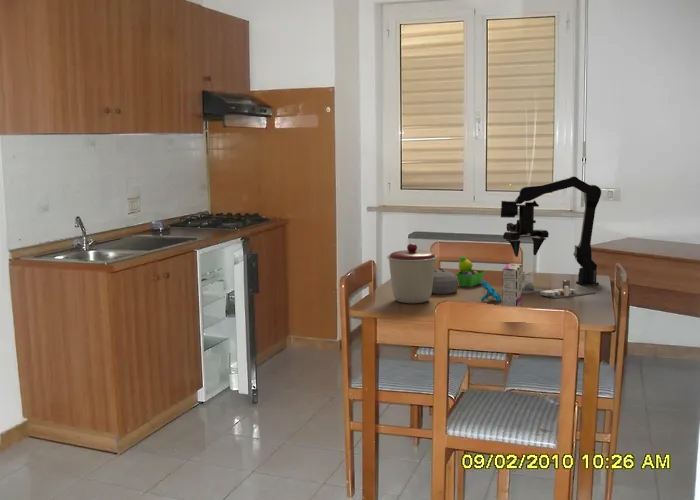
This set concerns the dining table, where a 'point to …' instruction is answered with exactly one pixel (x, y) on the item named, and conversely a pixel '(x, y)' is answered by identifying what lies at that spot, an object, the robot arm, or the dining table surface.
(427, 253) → the canister
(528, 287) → the chain link
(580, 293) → the rail base
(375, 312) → the dining table surface
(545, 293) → the rack
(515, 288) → the candy bar box
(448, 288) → the soft grey pack
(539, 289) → the pad
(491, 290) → the blue bumpy stand
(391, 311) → the dining table surface
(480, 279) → the fruit basket
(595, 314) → the dining table surface
